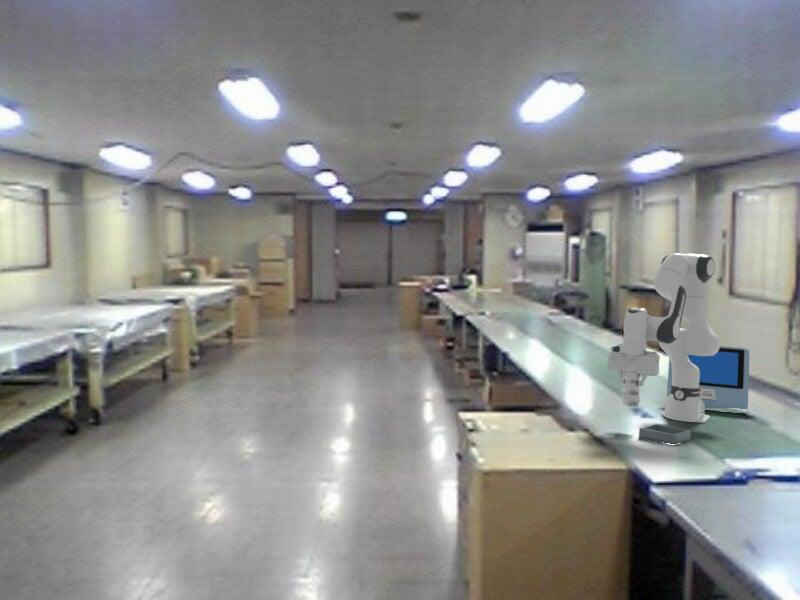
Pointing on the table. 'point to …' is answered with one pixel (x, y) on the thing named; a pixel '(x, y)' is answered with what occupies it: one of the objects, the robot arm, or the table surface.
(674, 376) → the robot arm
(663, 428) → the box
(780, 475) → the table surface
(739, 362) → the touchscreen device
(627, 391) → the plastic bottle
